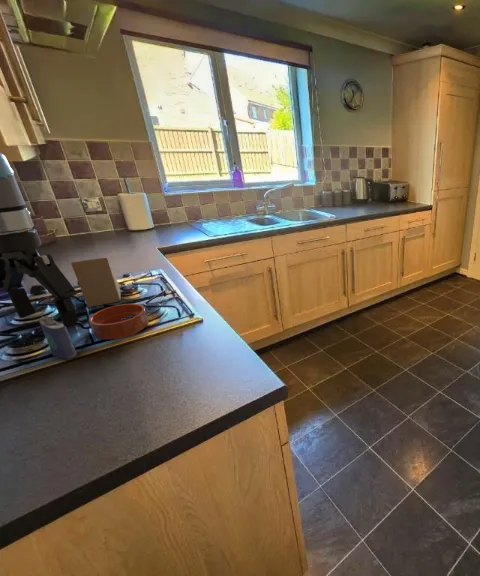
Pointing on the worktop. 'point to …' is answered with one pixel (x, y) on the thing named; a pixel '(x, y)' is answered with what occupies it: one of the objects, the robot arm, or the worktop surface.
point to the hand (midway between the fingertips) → (49, 319)
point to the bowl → (118, 321)
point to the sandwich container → (97, 281)
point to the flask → (57, 338)
